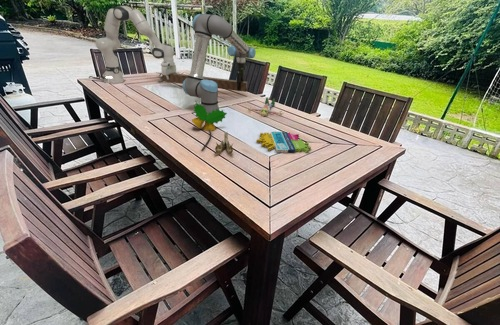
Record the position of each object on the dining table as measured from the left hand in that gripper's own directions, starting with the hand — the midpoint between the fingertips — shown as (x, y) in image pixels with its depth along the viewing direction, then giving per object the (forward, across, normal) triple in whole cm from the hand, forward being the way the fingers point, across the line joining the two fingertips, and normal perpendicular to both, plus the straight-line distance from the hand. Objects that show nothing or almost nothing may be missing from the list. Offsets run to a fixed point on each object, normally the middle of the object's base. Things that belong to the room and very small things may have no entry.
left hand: (169, 78), depth 246 cm
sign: (+6, +87, +120) cm, 149 cm away
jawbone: (+7, +109, +93) cm, 144 cm away
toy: (+6, +32, +101) cm, 106 cm away
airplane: (+8, -30, -19) cm, 36 cm away
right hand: (+1, 0, +69) cm, 69 cm away
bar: (+2, 0, +34) cm, 34 cm away
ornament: (+7, +83, +74) cm, 111 cm away
